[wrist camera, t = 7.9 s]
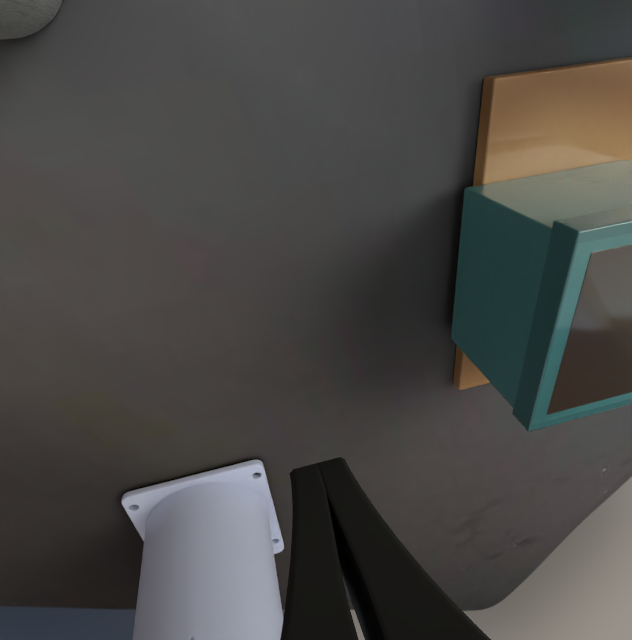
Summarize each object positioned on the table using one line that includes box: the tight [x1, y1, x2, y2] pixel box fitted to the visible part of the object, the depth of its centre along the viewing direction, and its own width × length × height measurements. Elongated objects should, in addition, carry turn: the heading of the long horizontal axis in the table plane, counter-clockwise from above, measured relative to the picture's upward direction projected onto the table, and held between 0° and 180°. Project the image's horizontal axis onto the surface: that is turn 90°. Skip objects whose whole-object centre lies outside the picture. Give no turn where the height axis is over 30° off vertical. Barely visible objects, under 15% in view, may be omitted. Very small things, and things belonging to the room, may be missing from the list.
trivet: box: [453, 57, 632, 390], centre depth 21 cm, size 16×12×1 cm
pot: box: [451, 159, 632, 432], centre depth 18 cm, size 9×6×8 cm
